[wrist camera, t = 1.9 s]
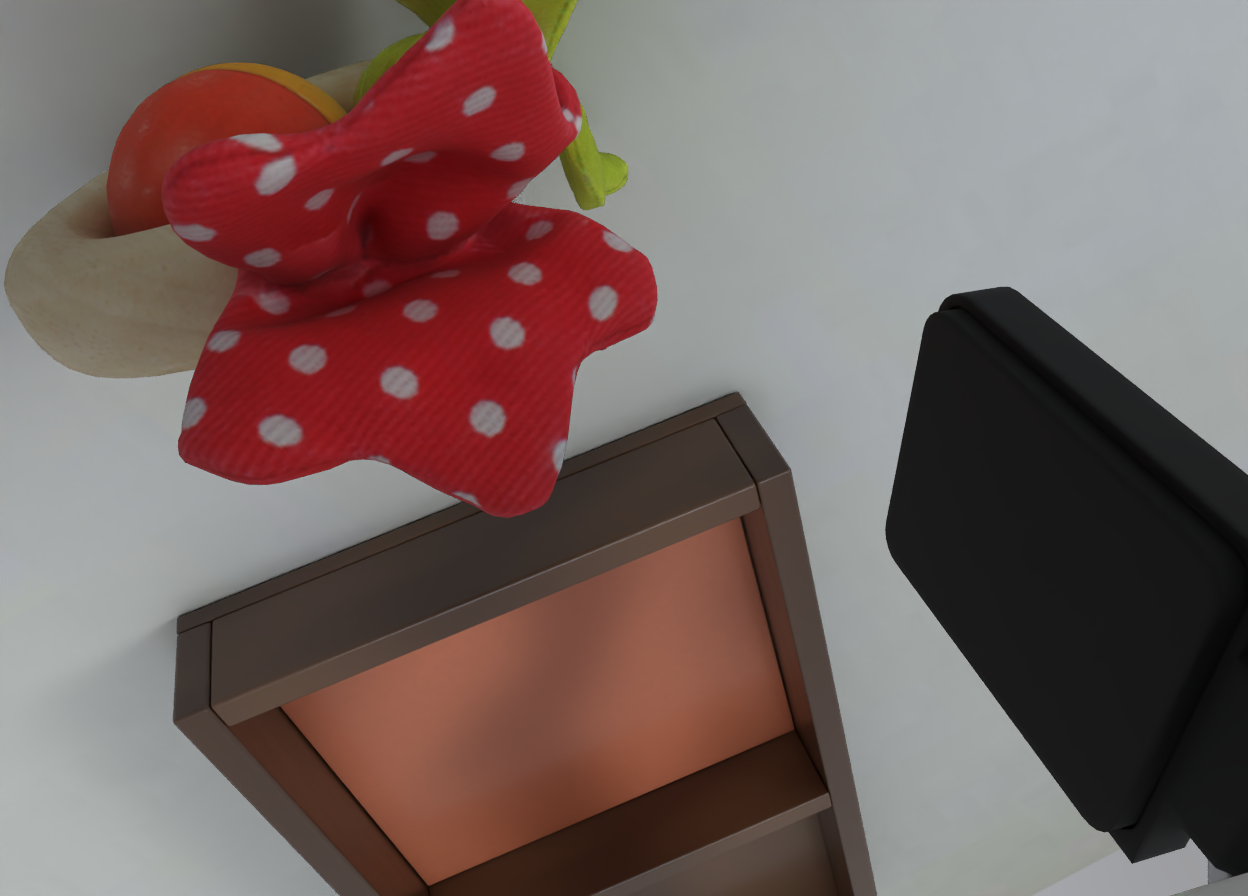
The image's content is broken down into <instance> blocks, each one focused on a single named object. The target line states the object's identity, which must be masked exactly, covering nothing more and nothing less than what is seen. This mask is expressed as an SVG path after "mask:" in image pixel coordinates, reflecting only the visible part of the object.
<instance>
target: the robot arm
mask: <svg viewBox="0 0 1248 896" xmlns="http://www.w3.org/2000/svg"><path fill="white" fill-rule="evenodd" d="M885 531H886V540H887V544H888V548H889V551H890V553H891V556H892V557H893V559H894V561H895V562H896V564H897V565H898V567H899V568H900V569H901V571H902V572H903V573H904V575H905V576H906V577H907V579H908V580H909V581H910V583H911V584H912V586H913V587H914V588H915V590H916V591H917V592H918V594H919V595H920V596H921V598H922V599H923V601H924V602H925V603H926V605H927V606H928V607H929V609H930V610H931V611H932V613H933V614H934V616H935V617H936V618H937V620H938V621H939V622H940V624H941V625H942V626H943V628H944V629H945V630H946V632H947V633H948V635H949V636H950V637H951V639H952V640H953V641H954V643H955V644H956V645H957V647H958V648H959V650H960V651H961V652H962V654H963V655H964V656H965V658H966V659H967V660H968V662H969V663H970V665H971V666H972V667H973V669H974V670H975V671H976V673H977V674H978V675H979V677H980V678H981V679H982V681H983V682H984V684H985V685H986V686H987V688H988V689H989V690H990V692H991V693H992V694H993V696H994V697H995V699H996V700H997V701H998V703H999V704H1000V705H1001V707H1002V708H1003V709H1004V711H1005V712H1006V714H1007V715H1008V716H1009V718H1010V719H1011V720H1012V722H1013V723H1014V724H1015V726H1016V727H1017V728H1018V730H1019V731H1020V733H1021V734H1022V735H1023V737H1024V738H1025V739H1026V741H1027V742H1028V743H1029V745H1030V746H1031V748H1032V749H1033V750H1034V752H1035V753H1036V754H1037V756H1038V757H1039V758H1040V760H1041V761H1042V763H1043V764H1044V765H1045V767H1046V768H1047V769H1048V771H1049V772H1050V773H1051V775H1052V776H1053V777H1054V779H1055V780H1056V782H1057V783H1058V784H1059V786H1060V787H1061V788H1062V790H1063V791H1064V792H1065V794H1066V795H1067V797H1068V798H1069V799H1070V801H1071V802H1072V803H1073V805H1074V806H1075V807H1076V809H1077V810H1078V811H1079V813H1080V814H1081V816H1082V817H1083V818H1084V819H1085V820H1086V821H1087V822H1088V824H1089V825H1091V826H1092V827H1094V828H1095V829H1096V830H1098V831H1102V832H1109V833H1110V835H1111V836H1112V837H1113V839H1114V840H1115V841H1116V843H1117V844H1118V845H1119V847H1120V848H1121V849H1122V851H1123V852H1124V853H1125V855H1126V856H1127V857H1128V859H1129V860H1130V861H1131V863H1132V864H1133V863H1136V862H1139V861H1142V860H1145V859H1149V858H1152V857H1155V856H1158V855H1162V854H1165V853H1168V852H1172V851H1175V850H1178V849H1181V848H1184V847H1185V846H1186V844H1187V842H1188V841H1189V839H1190V838H1191V839H1192V840H1193V842H1194V843H1195V844H1196V845H1197V846H1198V848H1199V849H1200V850H1201V851H1202V853H1203V854H1204V855H1205V856H1206V857H1207V859H1208V884H1207V885H1204V886H1200V887H1197V888H1194V889H1191V890H1187V891H1184V892H1181V893H1178V894H1175V895H1171V896H1248V475H1247V474H1246V473H1245V472H1243V471H1242V470H1241V469H1240V468H1238V467H1237V466H1236V465H1235V464H1233V463H1232V462H1231V461H1230V460H1228V459H1227V458H1226V457H1225V456H1223V455H1222V454H1221V453H1220V452H1218V451H1217V450H1216V449H1215V448H1213V447H1212V446H1211V445H1210V444H1208V443H1207V442H1206V441H1205V440H1203V439H1202V438H1201V437H1200V436H1198V435H1197V434H1196V433H1194V432H1193V431H1192V430H1191V429H1189V428H1188V427H1187V426H1186V425H1184V424H1183V423H1182V422H1181V421H1179V420H1178V419H1177V418H1176V417H1174V416H1173V415H1172V414H1171V413H1169V412H1168V411H1167V410H1166V409H1164V408H1163V407H1162V406H1161V405H1159V404H1158V403H1157V402H1156V401H1154V400H1153V399H1152V398H1151V397H1149V396H1148V395H1147V394H1146V393H1144V392H1143V391H1142V390H1141V389H1139V388H1138V387H1137V386H1136V385H1134V384H1133V383H1132V382H1131V381H1129V380H1128V379H1127V378H1126V377H1124V376H1123V375H1122V374H1121V373H1119V372H1118V371H1117V370H1116V369H1114V368H1113V367H1112V366H1111V365H1109V364H1108V363H1107V362H1106V361H1104V360H1103V359H1102V358H1101V357H1099V356H1098V355H1097V354H1096V353H1094V352H1093V351H1092V350H1091V349H1089V348H1088V347H1087V346H1085V345H1084V344H1083V343H1082V342H1080V341H1079V340H1078V339H1077V338H1075V337H1074V336H1073V335H1072V334H1070V333H1069V332H1068V331H1067V330H1065V329H1064V328H1063V327H1062V326H1060V325H1059V324H1058V323H1057V322H1055V321H1054V320H1053V319H1052V318H1050V317H1049V316H1048V315H1047V314H1045V313H1044V312H1043V311H1042V310H1040V309H1039V308H1038V307H1037V306H1035V305H1034V304H1033V303H1032V302H1030V301H1029V300H1028V299H1027V298H1025V297H1024V296H1023V295H1022V294H1020V293H1019V292H1018V291H1016V290H1014V289H1012V288H1010V287H997V288H990V289H984V290H978V291H971V292H965V293H959V294H952V295H951V296H949V297H947V298H946V299H945V300H944V301H943V303H942V304H941V306H940V308H939V311H938V312H935V313H933V314H932V315H930V316H929V318H928V319H927V321H926V323H925V326H924V330H923V335H922V340H921V345H920V350H919V355H918V361H917V366H916V371H915V376H914V381H913V386H912V392H911V397H910V402H909V407H908V412H907V417H906V422H905V428H904V433H903V438H902V443H901V448H900V453H899V459H898V464H897V469H896V474H895V479H894V484H893V490H892V495H891V500H890V505H889V510H888V515H887V520H886V529H885Z"/></svg>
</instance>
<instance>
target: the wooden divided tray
mask: <svg viewBox="0 0 1248 896" xmlns="http://www.w3.org/2000/svg"><path fill="white" fill-rule="evenodd" d="M177 634H178V637H177V652H176V672H175V692H174V711H173V722H174V724H175V725H176V726H177V727H178V728H179V729H180V730H181V731H182V732H183V734H184V735H185V736H186V737H187V738H188V739H189V740H190V741H191V742H192V743H193V744H194V745H195V746H196V747H197V748H198V749H199V750H200V751H201V752H202V753H203V754H204V755H205V756H206V757H207V758H208V759H209V761H210V762H211V763H212V764H213V765H214V766H215V767H216V768H217V769H218V770H219V771H220V772H221V773H222V774H223V775H224V776H225V777H226V778H227V779H228V780H229V781H230V782H231V783H232V784H233V785H234V786H235V788H236V789H237V790H238V791H239V792H240V793H241V794H242V795H243V796H244V797H245V798H246V799H247V800H248V801H249V802H250V803H251V804H252V805H253V806H254V807H255V808H256V809H257V810H258V811H259V812H260V813H261V815H262V816H263V817H264V818H265V819H266V820H267V821H268V822H269V823H270V824H271V825H272V826H273V827H274V828H275V829H276V830H277V831H278V832H279V833H280V834H281V835H282V836H283V837H284V838H285V839H286V840H287V841H288V843H289V844H290V845H291V846H292V847H293V848H294V849H295V850H296V851H297V852H298V853H299V854H300V855H301V856H302V857H303V858H304V859H305V860H306V861H307V862H308V863H309V864H310V865H311V866H312V867H313V868H314V870H315V871H316V872H317V873H318V874H319V875H320V876H321V877H322V878H323V879H324V880H325V881H326V882H327V883H328V884H329V885H330V886H331V887H332V888H333V889H334V890H335V891H336V892H337V893H338V894H339V895H340V896H877V892H876V887H875V882H874V877H873V873H872V868H871V863H870V858H869V853H868V848H867V843H866V838H865V833H864V828H863V823H862V818H861V813H860V808H859V803H858V798H857V793H856V788H855V784H854V779H853V774H852V769H851V764H850V759H849V754H848V749H847V744H846V739H845V734H844V729H843V724H842V719H841V714H840V709H839V704H838V699H837V695H836V690H835V685H834V680H833V675H832V670H831V665H830V660H829V655H828V650H827V645H826V640H825V635H824V630H823V625H822V620H821V615H820V611H819V606H818V601H817V596H816V591H815V586H814V581H813V576H812V571H811V566H810V561H809V556H808V551H807V546H806V541H805V536H804V531H803V526H802V522H801V517H800V512H799V507H798V502H797V497H796V492H795V487H794V482H793V477H792V472H791V469H790V467H789V466H788V464H787V463H786V461H785V460H784V458H783V457H782V455H781V454H780V452H779V451H778V449H777V448H776V447H775V445H774V444H773V442H772V441H771V439H770V438H769V436H768V435H767V433H766V432H765V430H764V429H763V427H762V426H761V425H760V423H759V422H758V420H757V419H756V417H755V416H754V414H753V413H752V411H751V410H750V408H749V407H748V406H747V404H746V402H745V400H744V399H743V397H742V396H741V395H740V393H739V392H736V393H734V394H731V395H729V396H726V397H724V398H721V399H719V400H716V401H714V402H711V403H709V404H706V405H704V406H702V407H699V408H697V409H694V410H692V411H689V412H687V413H684V414H682V415H679V416H677V417H674V418H672V419H669V420H667V421H664V422H662V423H659V424H657V425H654V426H652V427H649V428H647V429H645V430H642V431H640V432H637V433H635V434H632V435H630V436H627V437H625V438H622V439H620V440H617V441H615V442H612V443H610V444H607V445H605V446H602V447H600V448H597V449H595V450H592V451H590V452H588V453H585V454H583V455H580V456H578V457H575V458H573V459H570V460H568V461H565V462H563V464H562V468H561V470H560V472H559V475H558V477H557V479H556V483H555V486H554V489H553V491H552V493H551V495H550V497H549V499H548V500H547V501H546V503H545V504H544V505H542V506H541V507H539V508H537V509H535V510H532V511H529V512H527V513H525V514H522V515H518V516H514V517H509V518H504V517H497V516H492V515H490V514H488V513H486V512H484V511H483V510H481V509H479V508H477V507H475V506H473V505H471V504H469V503H466V502H464V503H461V504H459V505H456V506H454V507H451V508H449V509H446V510H444V511H441V512H439V513H436V514H434V515H431V516H429V517H426V518H424V519H422V520H419V521H417V522H414V523H412V524H409V525H407V526H404V527H402V528H399V529H397V530H394V531H392V532H389V533H387V534H384V535H382V536H379V537H377V538H374V539H372V540H369V541H367V542H365V543H362V544H360V545H357V546H355V547H352V548H350V549H347V550H345V551H342V552H340V553H337V554H335V555H332V556H330V557H327V558H325V559H322V560H320V561H317V562H315V563H312V564H310V565H308V566H305V567H303V568H300V569H298V570H295V571H293V572H290V573H288V574H285V575H283V576H280V577H278V578H275V579H273V580H270V581H268V582H265V583H263V584H260V585H258V586H255V587H253V588H251V589H248V590H246V591H243V592H241V593H238V594H236V595H233V596H231V597H228V598H226V599H223V600H221V601H218V602H216V603H213V604H211V605H208V606H206V607H203V608H201V609H198V610H196V611H194V612H191V613H189V614H186V615H184V616H181V617H179V618H178V619H177Z"/></svg>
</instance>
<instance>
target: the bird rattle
mask: <svg viewBox="0 0 1248 896" xmlns="http://www.w3.org/2000/svg"><path fill="white" fill-rule="evenodd" d="M396 1H397V2H399V3H400V4H402V5H403V6H405V7H406V8H408V9H410V10H411V11H413V12H414V13H415V14H416V15H417V16H418V17H419V18H420V19H421V20H422V21H423V22H424V23H425V24H427V25H428V26H429V27H431V28H430V29H429V30H428V31H426V32H424V33H423V34H417V35H413V36H409V37H406V38H404V39H402V40H400V41H398V42H396V43H394V44H392V45H390V46H389V47H387V48H386V49H384V50H383V51H381V52H380V53H379V54H378V55H377V56H376V57H375V58H373V59H369V60H364V61H360V62H357V63H354V64H351V65H348V66H345V67H342V68H338V69H334V70H330V71H327V72H324V73H321V74H318V75H315V76H312V77H309V78H305V79H303V78H301V77H299V76H297V75H295V74H292V73H290V72H287V71H284V70H282V69H279V68H275V67H271V66H267V65H263V64H255V63H221V64H216V65H210V66H206V67H203V68H200V69H196V70H193V71H190V72H188V73H186V74H184V75H182V76H180V77H178V78H177V79H175V80H174V81H172V82H170V83H168V84H166V85H164V86H162V87H161V88H160V89H158V90H157V91H156V92H154V93H153V94H151V95H150V96H149V97H147V98H146V99H145V100H144V101H143V102H142V103H141V104H140V105H139V106H138V107H137V109H136V110H135V111H134V113H133V114H132V116H131V117H130V119H129V120H128V121H127V123H126V124H125V126H124V127H123V129H122V131H121V133H120V135H119V137H118V139H117V141H116V144H115V147H114V150H113V153H112V158H111V162H110V167H109V170H107V171H106V172H104V173H102V174H101V175H99V176H97V177H96V178H94V179H92V180H91V181H89V182H88V183H87V184H85V185H84V186H82V187H81V188H80V189H78V190H77V191H75V192H74V193H73V194H71V195H70V196H68V197H67V198H66V199H64V200H63V201H62V202H60V203H59V204H58V205H56V206H55V207H54V208H52V209H51V210H50V211H49V212H48V213H47V214H46V215H45V216H44V217H43V218H41V219H40V220H39V221H38V222H37V223H36V224H35V225H34V226H32V227H31V229H30V230H29V231H28V232H27V233H26V234H25V235H24V236H23V238H22V239H21V240H20V242H19V243H18V244H17V246H16V247H15V248H14V250H13V252H12V254H11V257H10V259H9V261H8V265H7V268H6V272H5V280H4V287H5V292H6V294H7V297H8V300H9V302H10V305H11V307H12V308H13V310H14V311H15V313H16V315H17V316H18V318H19V320H20V321H21V323H22V324H23V326H24V328H25V329H26V331H27V332H28V333H29V335H30V336H31V337H32V339H33V340H34V341H35V342H36V343H37V344H38V345H39V346H40V347H41V349H43V350H44V351H45V352H46V353H47V354H48V355H50V356H51V357H52V358H53V359H54V360H56V361H57V362H59V363H61V364H62V365H64V366H66V367H67V368H69V369H72V370H75V371H78V372H81V373H84V374H87V375H91V376H95V377H104V378H139V377H150V376H160V375H165V374H170V373H176V372H182V371H188V370H194V369H195V372H194V375H193V378H192V381H191V384H190V387H189V392H188V396H187V401H186V405H185V410H184V414H183V420H182V431H181V435H180V437H179V440H178V451H179V455H180V456H181V458H182V459H183V460H184V462H185V463H188V464H190V465H193V466H195V467H197V468H200V469H202V470H205V471H207V472H210V473H212V474H215V475H218V476H220V477H223V478H225V479H228V480H231V481H235V482H239V483H244V484H248V485H269V484H275V483H282V482H285V481H289V480H293V479H296V478H300V477H304V476H307V475H311V474H314V473H318V472H322V471H325V470H329V469H332V468H334V467H336V466H339V465H341V464H343V463H345V462H348V461H351V460H360V459H365V460H376V461H379V462H383V463H386V464H390V465H392V466H394V467H396V468H398V469H400V470H402V471H404V472H405V473H407V474H409V475H411V476H412V477H414V478H416V479H418V480H420V481H422V482H424V483H425V484H427V485H429V486H431V487H433V488H435V489H437V490H439V491H441V492H443V493H446V494H448V495H450V496H452V497H454V498H457V499H459V500H461V501H464V502H466V503H469V504H471V505H473V506H475V507H477V508H479V509H481V510H483V511H484V512H486V513H488V514H490V515H492V516H497V517H504V518H509V517H514V516H518V515H522V514H525V513H527V512H529V511H532V510H535V509H537V508H539V507H541V506H542V505H544V504H545V503H546V501H547V500H548V499H549V497H550V495H551V493H552V491H553V489H554V486H555V483H556V479H557V477H558V475H559V472H560V470H561V468H562V464H563V459H564V454H565V449H566V444H567V439H568V431H569V422H570V414H571V405H572V397H573V389H574V384H575V380H576V375H577V372H578V369H579V366H580V364H581V362H582V361H583V360H584V359H585V358H586V357H587V356H589V355H590V354H591V353H593V352H594V351H597V350H604V349H606V348H607V347H609V346H611V345H614V344H616V343H618V342H619V341H622V340H624V339H627V338H629V337H631V336H633V335H635V334H637V333H639V332H641V331H643V330H646V329H647V328H648V327H649V326H650V325H651V324H652V323H653V321H654V317H655V311H656V305H657V285H656V281H655V276H654V273H653V269H652V266H651V264H650V262H649V260H648V258H647V257H646V256H645V255H643V254H642V253H641V252H639V251H638V250H636V249H634V248H633V247H631V246H630V245H629V244H628V243H626V242H625V241H624V240H622V239H621V238H620V237H618V236H617V235H615V234H614V233H613V232H611V231H610V230H608V229H607V228H606V227H604V226H603V225H601V224H599V223H597V222H595V221H594V220H592V219H590V218H588V217H585V216H583V215H581V214H579V213H576V212H572V211H569V210H560V209H552V208H545V207H536V206H529V205H522V204H517V203H513V202H511V201H512V200H513V199H514V198H516V197H517V196H518V195H519V194H520V193H521V192H522V191H523V189H524V188H525V187H526V185H527V184H528V183H529V181H531V180H532V179H533V178H534V177H536V176H537V175H538V174H539V173H540V172H542V171H543V170H544V169H545V168H546V167H547V166H548V165H549V164H550V163H551V162H552V161H553V160H555V159H556V158H557V157H558V156H560V159H561V163H562V166H563V169H564V172H565V175H566V178H567V180H568V183H569V185H570V188H571V190H572V191H573V193H574V196H575V199H576V201H577V203H578V205H579V206H580V208H581V209H583V210H590V209H593V208H596V207H600V206H604V203H605V195H609V194H612V193H614V192H616V191H617V190H619V189H620V188H621V187H623V186H624V185H625V184H626V182H627V180H628V166H627V164H626V162H625V161H623V160H622V159H621V158H620V157H618V156H616V155H613V154H610V153H601V152H598V149H597V146H596V143H595V140H594V138H593V135H592V133H591V131H590V129H589V126H588V122H587V117H586V113H585V111H584V108H583V106H582V105H581V103H580V102H579V99H578V96H577V93H576V91H575V89H574V88H573V86H572V85H571V84H570V83H569V82H568V81H567V79H566V78H565V77H564V76H563V75H562V73H560V72H559V71H557V70H556V69H554V68H553V67H552V64H551V63H550V61H551V58H552V55H553V53H554V51H555V48H556V46H557V44H558V42H559V40H560V38H561V36H562V34H563V32H564V30H565V27H566V25H567V23H568V21H569V18H570V16H571V14H572V12H573V10H574V8H575V5H576V3H577V0H396Z"/></svg>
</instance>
